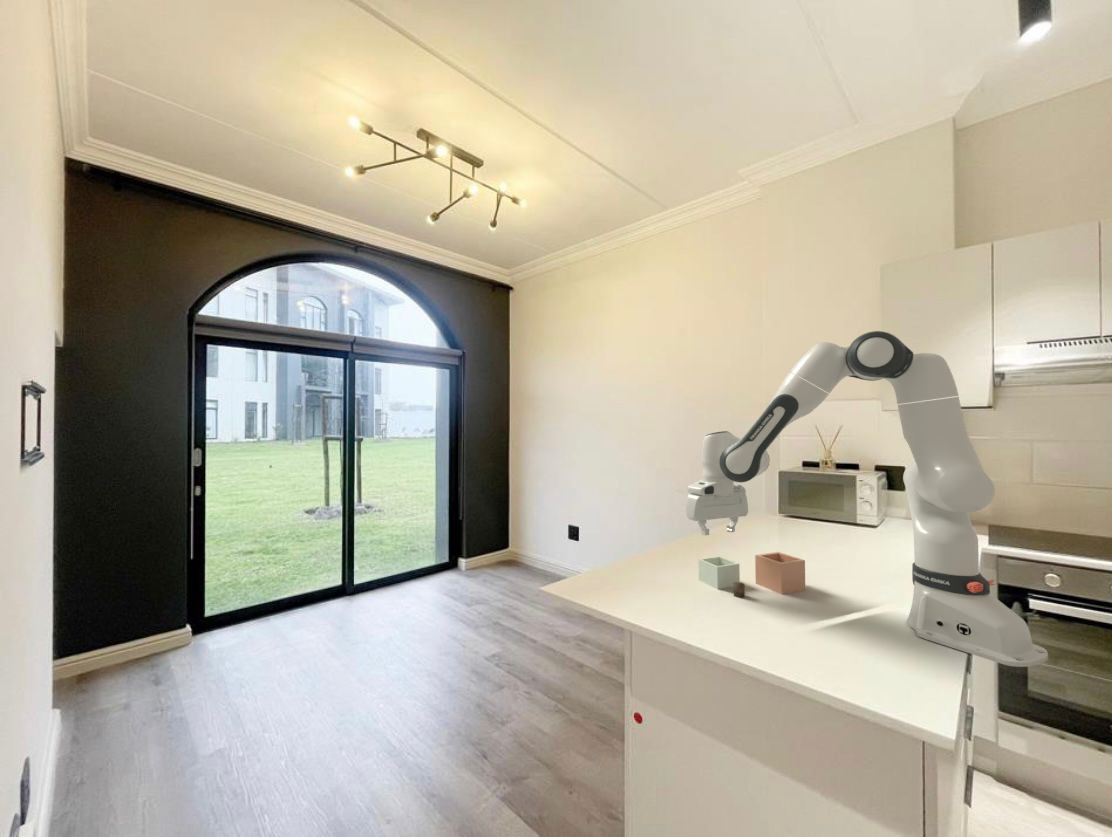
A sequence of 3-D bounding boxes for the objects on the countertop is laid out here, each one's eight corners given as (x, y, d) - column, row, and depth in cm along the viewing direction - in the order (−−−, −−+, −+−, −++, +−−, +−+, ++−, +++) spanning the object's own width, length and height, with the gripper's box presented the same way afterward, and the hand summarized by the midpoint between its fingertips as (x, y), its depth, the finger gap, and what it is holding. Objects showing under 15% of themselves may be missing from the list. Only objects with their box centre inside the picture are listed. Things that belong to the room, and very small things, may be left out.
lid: (763, 604, 117) (763, 587, 117) (738, 609, 114) (738, 591, 114) (739, 593, 125) (739, 577, 125) (715, 597, 122) (715, 580, 122)
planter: (805, 592, 123) (804, 560, 124) (781, 597, 120) (781, 563, 120) (778, 581, 132) (778, 551, 132) (755, 586, 128) (755, 555, 129)
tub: (739, 588, 127) (739, 563, 127) (717, 591, 124) (717, 567, 124) (720, 579, 134) (719, 556, 135) (698, 582, 132) (698, 559, 132)
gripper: (737, 483, 136) (737, 528, 136) (682, 486, 129) (683, 534, 129) (753, 485, 131) (753, 532, 130) (697, 489, 123) (697, 539, 123)
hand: (718, 533), depth 130 cm, fingers open, 8 cm apart
